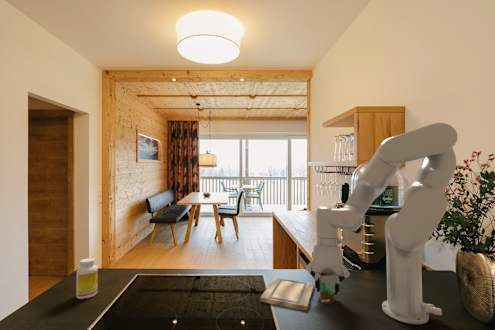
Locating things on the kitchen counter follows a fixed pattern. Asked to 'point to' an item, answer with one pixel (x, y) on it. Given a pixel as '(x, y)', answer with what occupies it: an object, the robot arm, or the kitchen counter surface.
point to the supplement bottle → (87, 279)
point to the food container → (327, 288)
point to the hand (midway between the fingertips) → (327, 291)
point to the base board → (288, 293)
